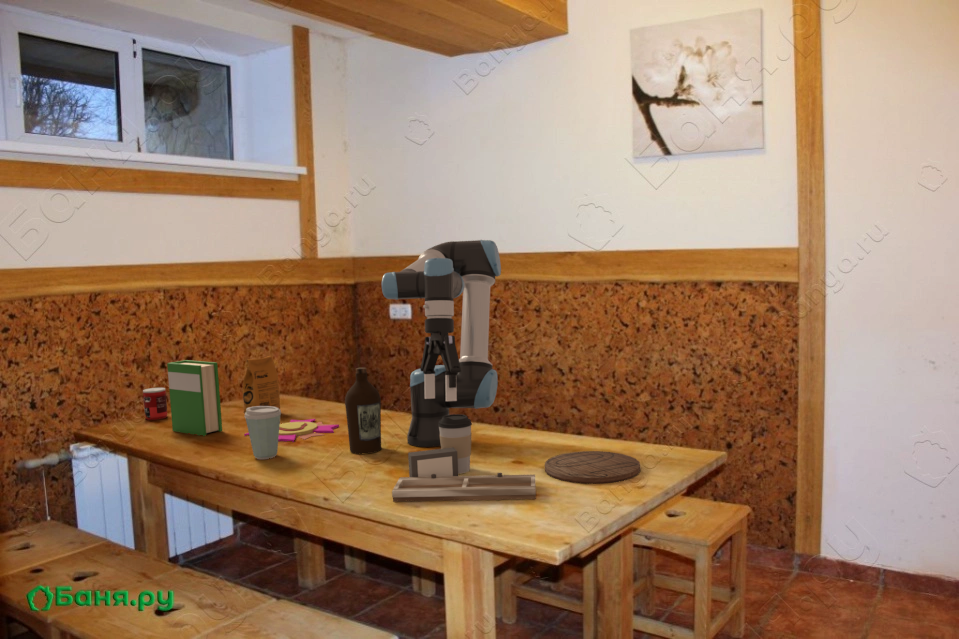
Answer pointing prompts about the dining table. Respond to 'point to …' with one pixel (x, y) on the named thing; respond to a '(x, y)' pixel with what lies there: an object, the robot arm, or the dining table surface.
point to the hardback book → (194, 397)
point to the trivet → (592, 467)
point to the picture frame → (433, 463)
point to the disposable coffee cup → (263, 430)
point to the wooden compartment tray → (464, 488)
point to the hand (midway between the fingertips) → (440, 399)
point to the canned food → (155, 403)
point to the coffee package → (261, 384)
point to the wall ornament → (302, 429)
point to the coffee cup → (457, 438)
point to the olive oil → (363, 415)
